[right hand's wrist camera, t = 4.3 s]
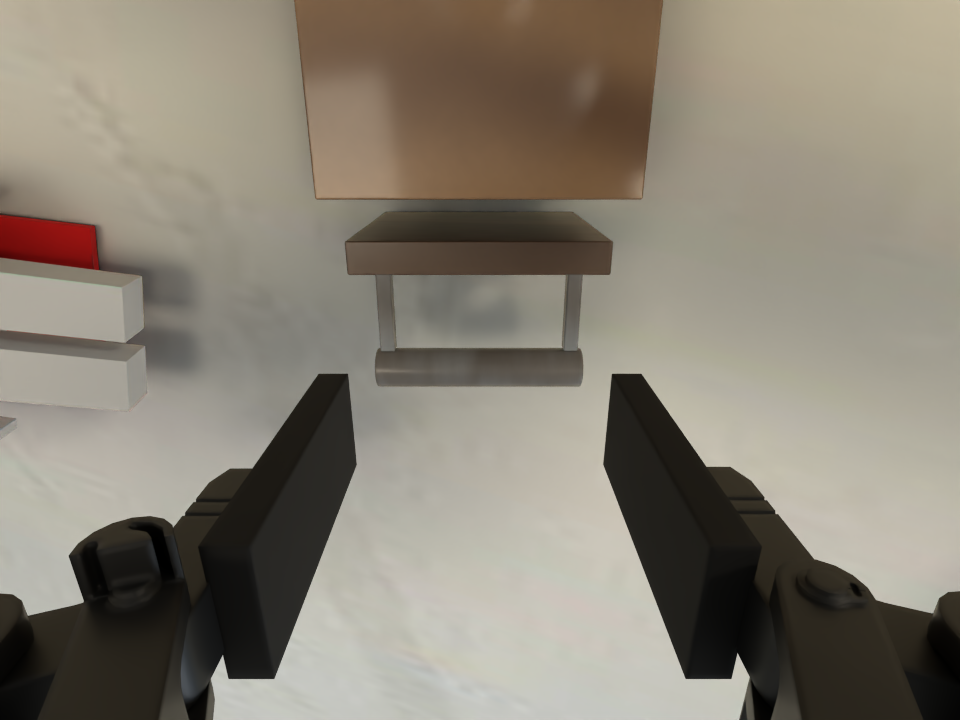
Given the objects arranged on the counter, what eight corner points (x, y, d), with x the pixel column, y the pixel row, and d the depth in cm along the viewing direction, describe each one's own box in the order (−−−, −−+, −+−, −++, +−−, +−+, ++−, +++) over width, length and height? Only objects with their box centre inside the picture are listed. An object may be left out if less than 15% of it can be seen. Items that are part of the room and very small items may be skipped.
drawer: (565, 336, 30) (598, 410, 22) (392, 336, 30) (359, 410, 22) (594, -142, 22) (661, -309, 14) (363, -142, 22) (294, -309, 14)
